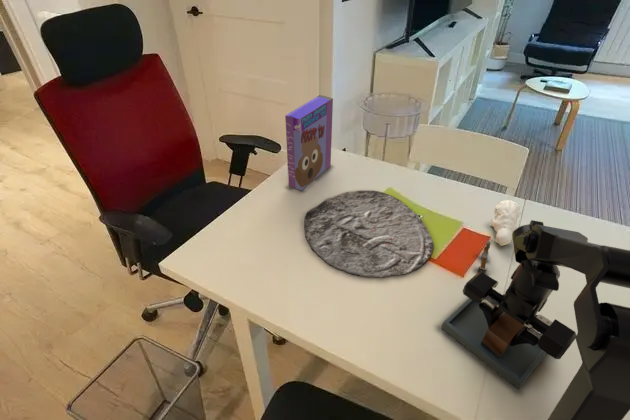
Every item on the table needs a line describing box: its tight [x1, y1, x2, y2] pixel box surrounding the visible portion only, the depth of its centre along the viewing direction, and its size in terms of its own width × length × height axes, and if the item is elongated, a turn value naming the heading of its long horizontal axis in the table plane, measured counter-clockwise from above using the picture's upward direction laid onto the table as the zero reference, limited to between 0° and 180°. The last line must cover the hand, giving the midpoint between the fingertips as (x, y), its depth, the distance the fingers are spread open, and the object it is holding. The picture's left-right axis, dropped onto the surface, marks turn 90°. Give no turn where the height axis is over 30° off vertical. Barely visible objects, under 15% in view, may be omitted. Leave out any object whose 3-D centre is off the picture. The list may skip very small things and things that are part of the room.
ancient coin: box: [303, 189, 435, 278], centre depth 100 cm, size 33×35×1 cm
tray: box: [441, 298, 547, 390], centre depth 75 cm, size 17×13×2 cm
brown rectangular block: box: [481, 312, 525, 358], centre depth 73 cm, size 4×8×5 cm, turn 130°
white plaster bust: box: [489, 199, 522, 247], centre depth 97 cm, size 6×8×12 cm
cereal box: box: [284, 94, 334, 192], centre depth 114 cm, size 17×5×24 cm, turn 147°
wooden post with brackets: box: [477, 240, 492, 274], centre depth 91 cm, size 2×8×4 cm, turn 155°
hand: (501, 336), depth 74 cm, fingers closed on brown rectangular block, 4 cm apart
